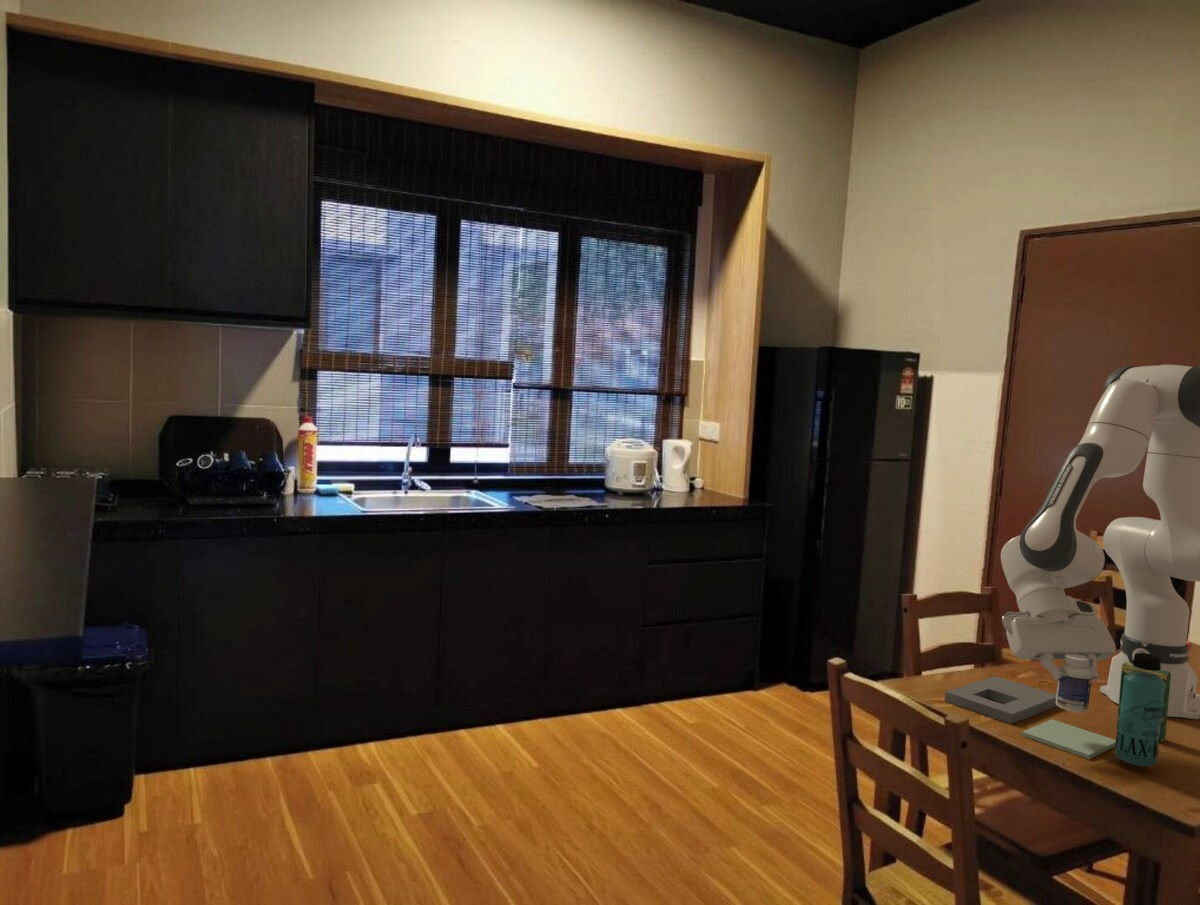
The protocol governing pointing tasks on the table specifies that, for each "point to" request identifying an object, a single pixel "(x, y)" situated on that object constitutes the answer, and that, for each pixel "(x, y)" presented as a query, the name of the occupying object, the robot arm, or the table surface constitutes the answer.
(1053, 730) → the mat
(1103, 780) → the table surface
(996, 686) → the frame
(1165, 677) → the coffee box
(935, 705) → the table surface
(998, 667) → the table surface
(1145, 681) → the beverage bottle
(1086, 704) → the pill bottle
